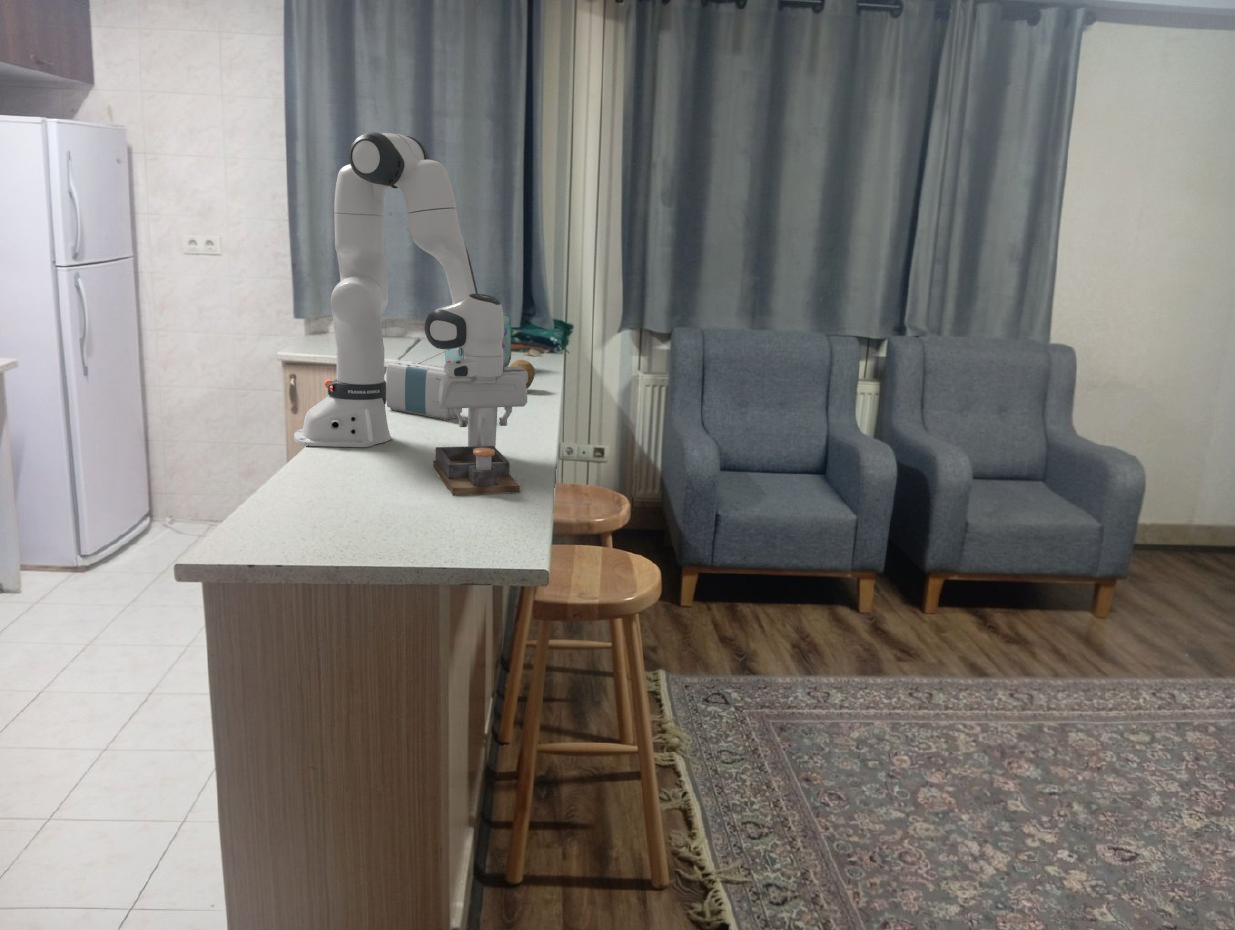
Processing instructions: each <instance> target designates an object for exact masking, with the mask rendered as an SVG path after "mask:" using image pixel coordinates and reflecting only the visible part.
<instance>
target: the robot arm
mask: <svg viewBox="0 0 1235 930" xmlns="http://www.w3.org/2000/svg"><path fill="white" fill-rule="evenodd" d="M348 158H349V159H348V160H349V164H346V165H344V166H342V168H340V169H339V171H338V173H337V178H336V182H335V190H334V191H335V192H334V205H333V206H334V207H333V209H334V248H335V252H336V256H337V257H336V258H337V263H338V270H339V279H340V281H339V282H338V283H337V284H336V285H335V286H334V288H333V289H332V292H331V296H330V308H331V315H332V316H331V317H332V324H333V325H332V326H333V331H334V332H333V334H334V339H335V348H336V379H334V380H332V379H326V380H325V381H324V386H325V387H326V389H327V396H326V397H324V398H323V399H322V400H320V401H319V402H318V403H316V404H315V405H314V406H312V407H310V409H308V410H307V412H306V414H305V417H304V421H303V427H302V428H300V429H298V430H296V431H295V432H294V434H293V440H294V443H297V444H298V445H300V446H304V447H334V448H335V447H336V448H337V447H339V448H340V447H346V448H348V447H350V448H369V447H372V446H375V445H377V444H381V443H386V442H389V441H390V440H391V439H392V436H391V433H390V430H389V425H388V419H387V412H386V411H387V410H386V405H387V403H386V400H387V386H386V379H385V345H384V339H383V328H382V327H383V326H382V313H384V312H385V310H386V309H387V306H388V304H389V283H388V272H387V271H388V270H387V263H386V261H387V260H386V253H385V207H384V204H385V201H384V200H385V195H386V193H387V190H388V189H389V188H392V189H399V190H400V192H401V193H402V195H403V198H404V199H403V200H404V203H405V210H406V211H405V212H406V217H407V223H408V229H409V232H410V235H411V237H412V240H413V242H414V244H416V246H417V247H418V248H419V249H421V250H422V251H424V252H426V253H428V254H429V255H430V256H432V257H434V258H435V259H436V260H437V261H438V262H439V263H440V264H441V265H442V268H443V270H444V272H445V276H446V280H447V285H448V288H449V293H450V297H451V302H452V303H451V304H450V305H446V306H443V307H439V308H436V309H434V310H431V312H429V314H427V316H426V318H425V322H424V334H425V337H426V339H427V341H428V343H429V344H431V346H433V347H435V348H436V349H440V350H443V351H444V350H450V349H454V348H463V349H464V358H462V359H459V360H456V361H453V362H450V363H447V364H446V363H445V364H444V365H443V367H444V372H445V373H446V375H444V376H443V377H442V379H441V382H440V388H439V404H440V405H441V406H442V407H443V408H444V409H452V408H454V412H455V413H456V415H457V417H456V418H457V419H458V426H459V428H468V419H466V418H463V417H462V415H461V414H460V413H463V409H468V408H489V407H497V408H503V409H504V410H505V412H504V414H503V416H501V417H500V416H499V417H498V421H499V422H498V425H499V426H500V427H506V426H507V425H508V418H510V416H511V414H512V413H513V407H514V408H519V407H520V408H522V407H525V406H526V405H527V403H528V392H527V391H528V389H527V388H526V384H527V381H528V372H527V371H526V370H525V369H524V368H522V367H520V366H516V367H510V365H508V366H507V367H506V366H504V367H503V349H502V340H503V337H504V318H503V313H504V310H503V305H502V302H501V301H500V300H499V299H498V298H496V297H494V296H492V295H489V294H483V293H478V288H477V284H476V279H475V276H474V271H473V266H472V262H471V258H470V254H469V251H468V248H467V246H466V243H465V240H464V237H463V234H462V232H461V231H462V230H461V227H460V222H459V216H458V211H457V204H456V199H455V198H456V197H455V195H454V194H455V193H454V190H453V186H452V183H451V180H450V177H449V173H448V171H447V169H446V167H445V166H444V165H443V163H440V162H439V161H437V160H433V159H430V153H429V152H428V150H427V148H426V146H424V144H423V143H422V142H420V141H419V140H417V139H416V138H414V137H412V136H408V135H403V134H399V133H395V132H385V133H384V132H382V133H380V132H376V131H375V132H373V131H372V132H367V133H364V134H362V135H361V134H360V135H359V136H358V137H357V138H356V139H354V140H353V142H352V143H351V146H350V147H349V154H348ZM522 370H524V371H522ZM459 412H460V413H459ZM507 427H508V426H507ZM308 445H309V446H308Z"/></svg>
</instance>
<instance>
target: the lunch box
mask: <svg viewBox="0 0 1235 930" xmlns="http://www.w3.org/2000/svg"><path fill="white" fill-rule="evenodd" d="M503 318H504V337H503V340H502V349H503V367H504V366H506V367H507V366H510V363H511V360H512V331H511V330H512V329H511V328H512V326H511V325H512V323H511V319H510V316H509V315H508V314H507V313H505V312H503ZM462 358H464V349H463V348H454V349H450V350H447V351H446V352H444V359H445V360H444V361H445V364H447V363H450V362H453V361H456V360H459V359H462Z"/></svg>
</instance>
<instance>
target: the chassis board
mask: <svg viewBox="0 0 1235 930" xmlns="http://www.w3.org/2000/svg"><path fill="white" fill-rule="evenodd" d="M476 448H491V449H494V450H495V455H494V456H492V458H491V470H477V469H476V456H475V455H473V449H476ZM432 468H433V469H434V470H435V472H436V473H437V475H438V476H439V478H440V479H441V481H442V482H443V484H444V485H445V486H446V488H447V490H448V491H449V492H450V494H451V495H452V496H466V495H467V496H470V494H472V496H473V494H474V495H493V494H494V495H495V494H496V495H498V494H515V493H516V494H517V493H518V494H519V493H521V484H520V483H519V482H517V480H516V479H515V478H514V477H513V476H512V475H511V473H510V469H511V462H510V461H509V460H508V459H507V458H506V457H505V456H504V455H503V454H502V453H501V452H500V451H499V449H497V448H496V446H495V447H494V446H468V445H467V446H465V445H464V446H441V447H440V446H436V447H435V460H432ZM497 493H498V494H497Z"/></svg>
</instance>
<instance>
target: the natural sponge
mask: <svg viewBox="0 0 1235 930" xmlns="http://www.w3.org/2000/svg"><path fill="white" fill-rule="evenodd" d="M509 366H510V367H516V366H520V367H522V368H524V369H525V370H526V371H527V372H528V381H527V384H526V388H527V390H528V389H529V388H530V386H531V385H532V384H533V382H534V379H535V376H536V370H535V367H534V365H532V363H531V362H530V361H528V360H524V359H517V360H515V361H514V362H512V363H511V364H509ZM522 371H524V370H522Z"/></svg>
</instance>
